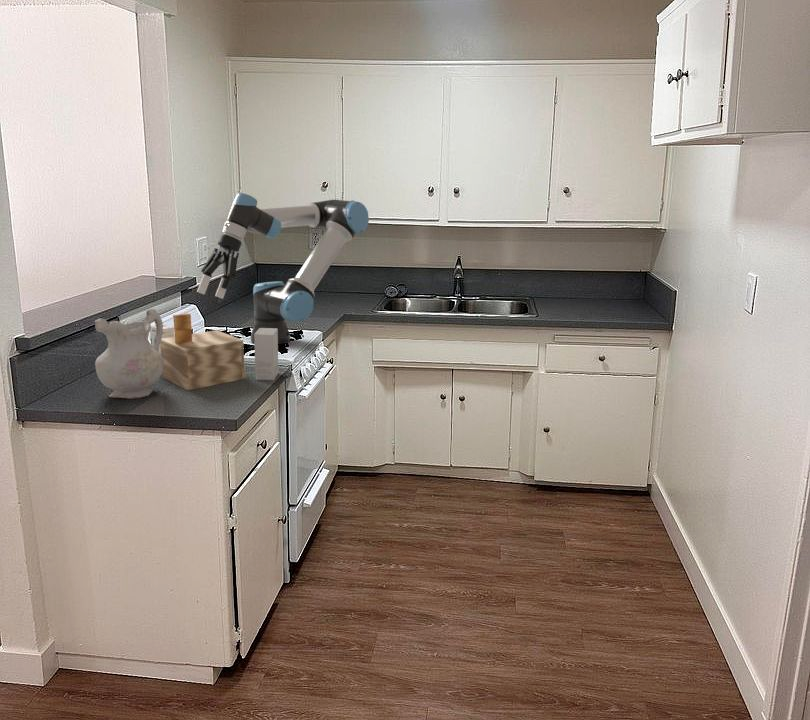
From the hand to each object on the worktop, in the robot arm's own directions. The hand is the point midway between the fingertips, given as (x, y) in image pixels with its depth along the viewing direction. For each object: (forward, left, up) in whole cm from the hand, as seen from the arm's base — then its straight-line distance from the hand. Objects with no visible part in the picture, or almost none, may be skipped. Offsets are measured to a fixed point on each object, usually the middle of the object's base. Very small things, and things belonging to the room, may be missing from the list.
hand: (209, 295), depth 258 cm
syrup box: (+16, -5, -24) cm, 29 cm away
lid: (+11, +14, -12) cm, 21 cm away
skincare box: (-6, +26, -24) cm, 36 cm away
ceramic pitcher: (+34, +15, -24) cm, 44 cm away
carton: (+11, +14, -24) cm, 30 cm away
